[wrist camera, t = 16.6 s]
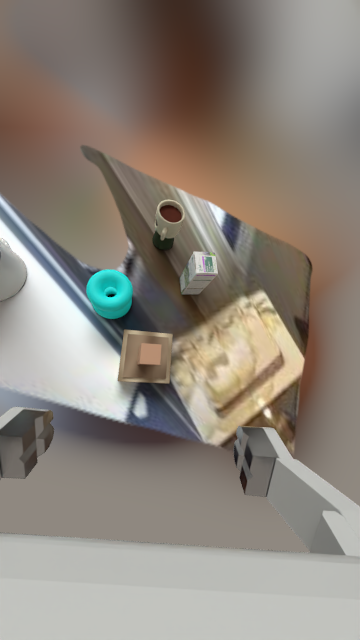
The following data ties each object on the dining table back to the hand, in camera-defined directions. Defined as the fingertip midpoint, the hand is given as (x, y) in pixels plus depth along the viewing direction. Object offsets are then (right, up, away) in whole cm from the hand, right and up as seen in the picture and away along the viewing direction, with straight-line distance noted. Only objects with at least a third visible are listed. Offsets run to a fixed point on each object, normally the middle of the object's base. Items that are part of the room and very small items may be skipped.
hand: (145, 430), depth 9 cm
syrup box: (+4, +15, +53) cm, 55 cm away
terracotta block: (-6, -4, +40) cm, 41 cm away
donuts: (-17, +10, +46) cm, 50 cm away
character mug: (-4, +29, +54) cm, 61 cm away
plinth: (-8, -5, +45) cm, 46 cm away
